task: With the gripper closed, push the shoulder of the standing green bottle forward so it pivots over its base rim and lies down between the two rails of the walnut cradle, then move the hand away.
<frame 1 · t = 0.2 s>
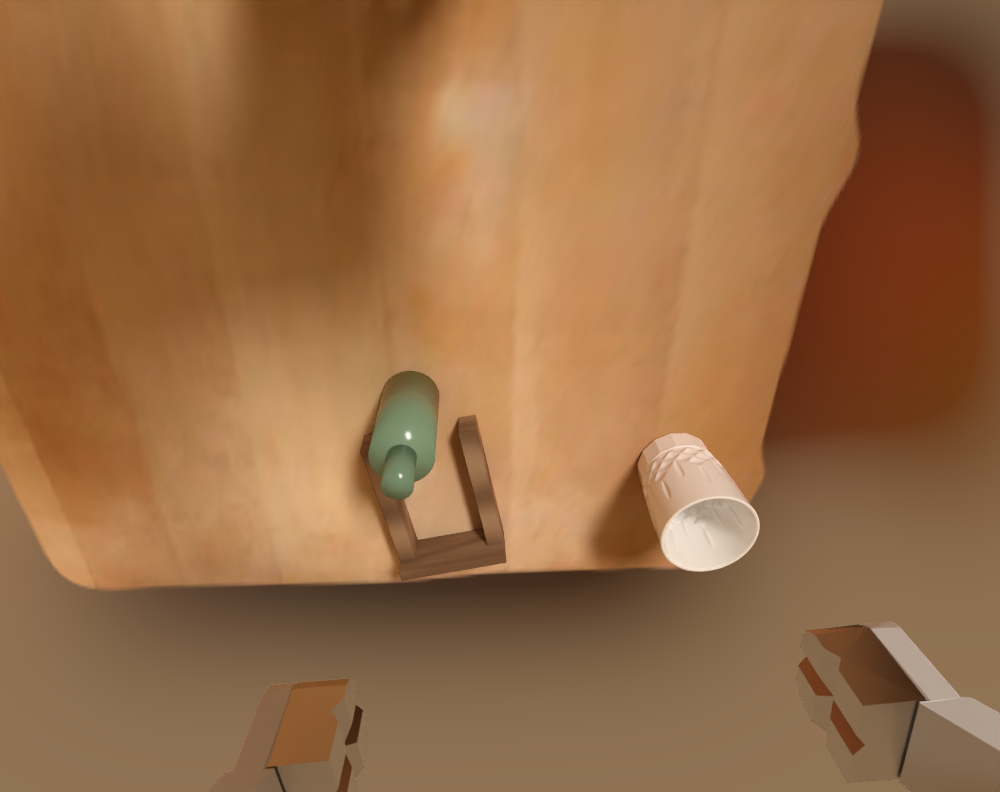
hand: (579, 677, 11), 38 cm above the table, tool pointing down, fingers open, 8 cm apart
white cup: (671, 460, 57), on the table
cradle: (436, 482, 56), on the table
bottle: (411, 396, 52), on the table
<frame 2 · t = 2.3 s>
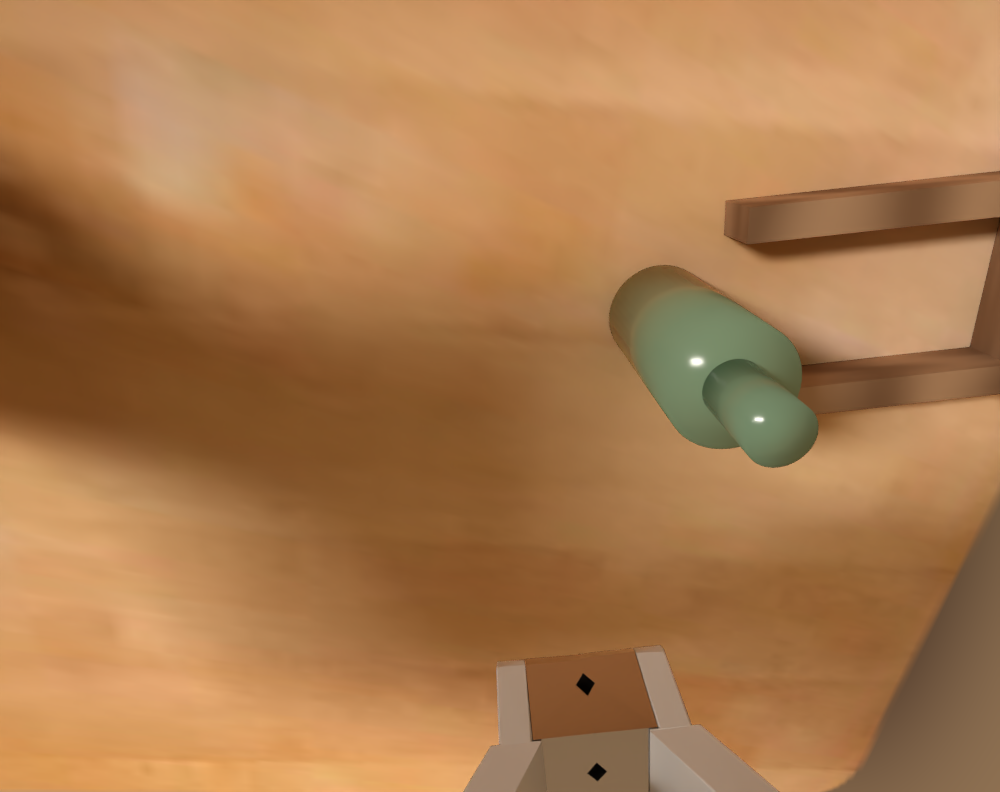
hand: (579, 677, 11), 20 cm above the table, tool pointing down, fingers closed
cradle: (853, 293, 29), on the table
bottle: (658, 314, 29), on the table
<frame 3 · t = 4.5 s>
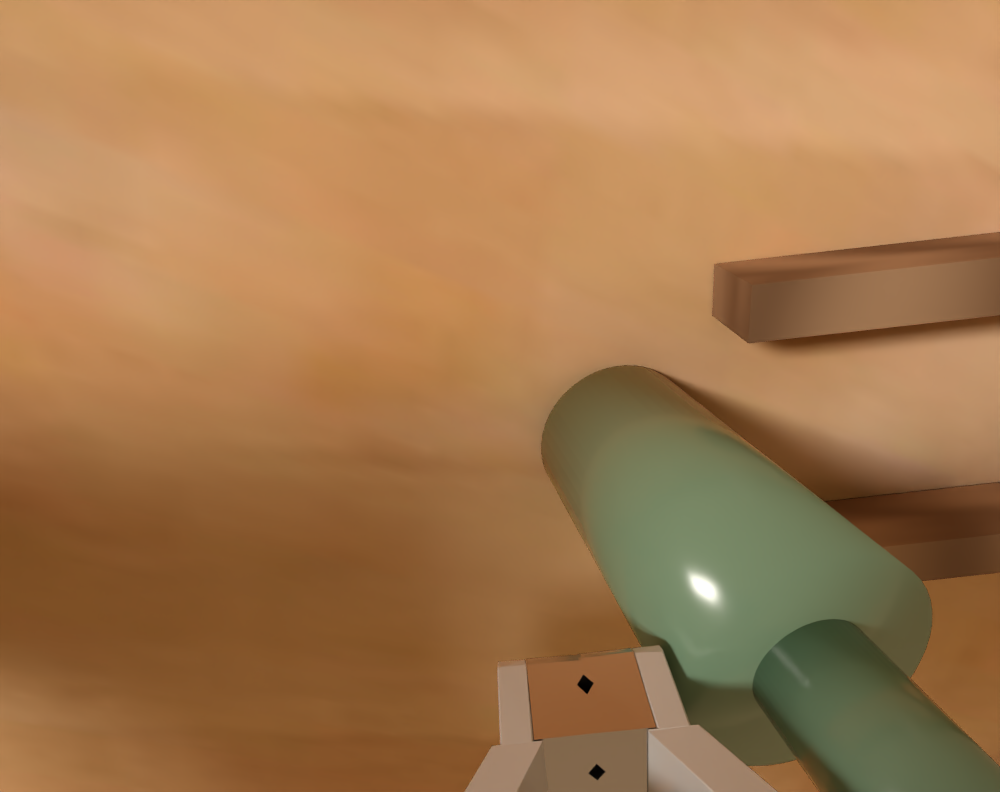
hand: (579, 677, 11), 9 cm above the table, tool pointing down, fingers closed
cradle: (913, 399, 19), on the table
bottle: (616, 438, 19), on the table, tilted 9°, touching gripper
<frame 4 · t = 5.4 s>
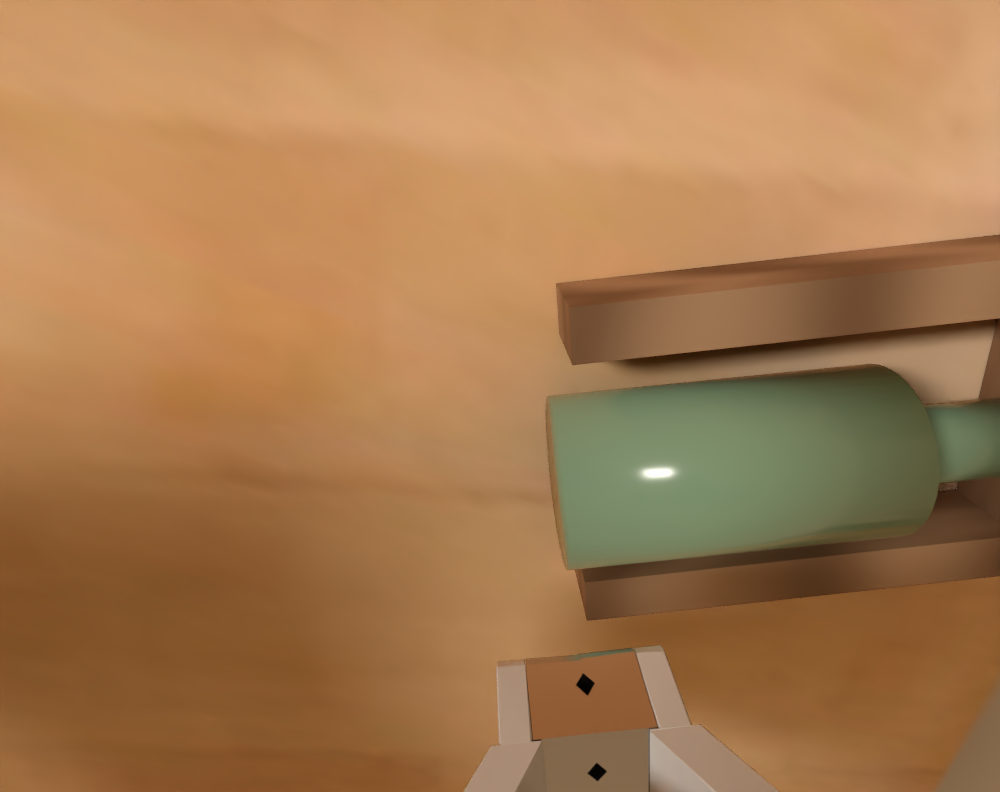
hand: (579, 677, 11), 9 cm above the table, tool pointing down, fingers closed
cradle: (772, 417, 19), on the table
bottle: (556, 481, 17), point 2 cm above the table, tilted 90°
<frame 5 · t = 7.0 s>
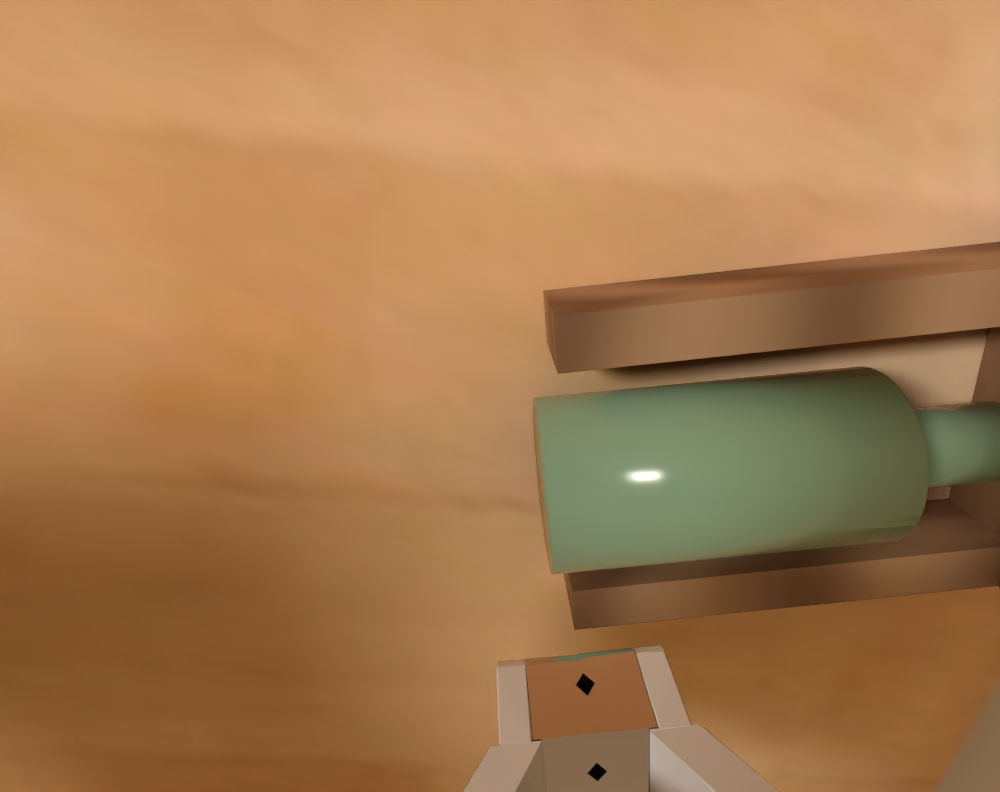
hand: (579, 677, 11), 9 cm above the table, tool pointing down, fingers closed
cradle: (762, 426, 19), on the table
bottle: (542, 484, 17), point 2 cm above the table, tilted 90°
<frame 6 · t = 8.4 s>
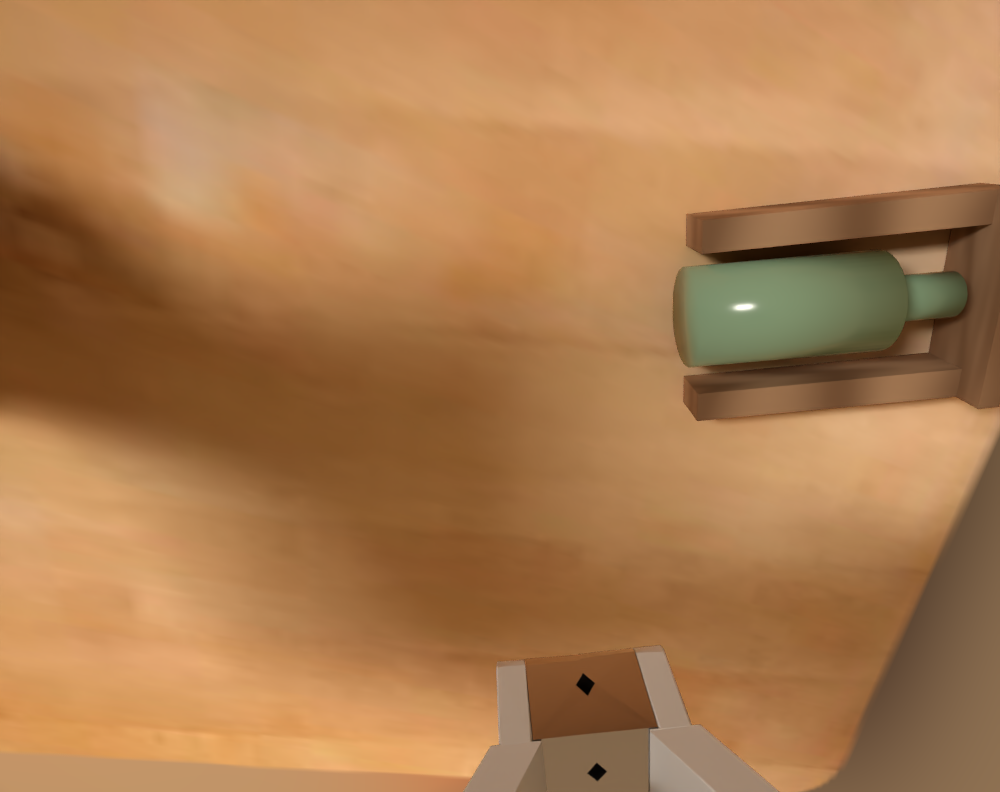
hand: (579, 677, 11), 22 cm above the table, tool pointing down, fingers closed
cradle: (811, 300, 31), on the table
bottle: (685, 317, 29), point 2 cm above the table, tilted 90°
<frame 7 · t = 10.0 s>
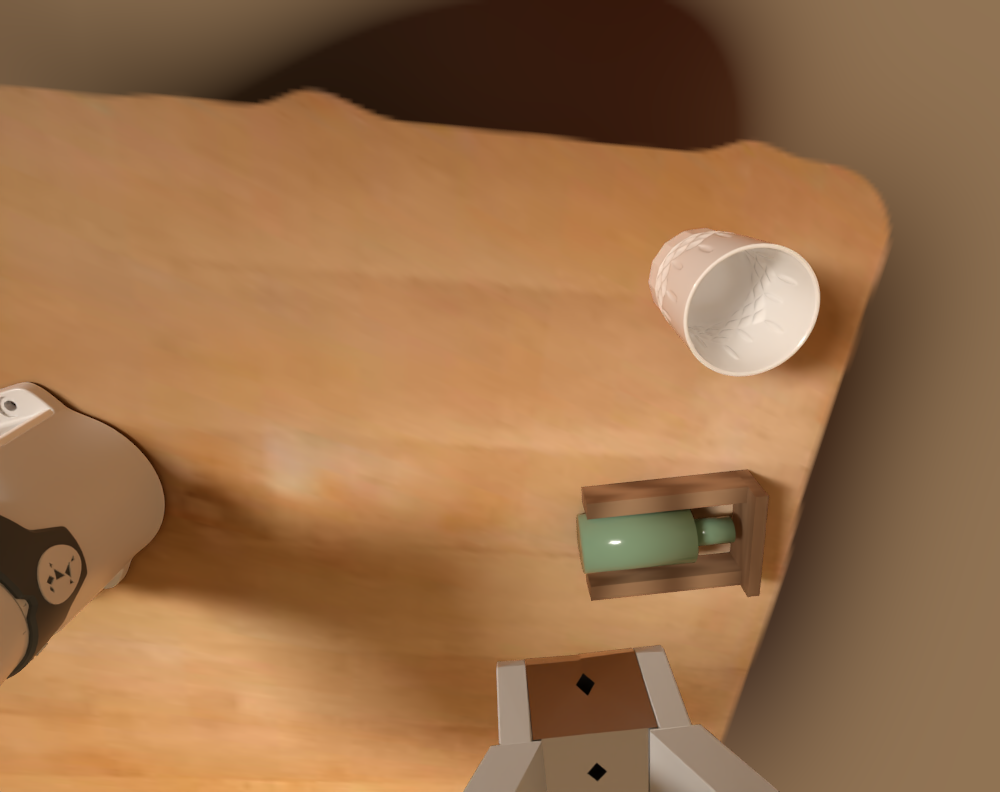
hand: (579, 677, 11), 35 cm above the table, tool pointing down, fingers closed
white cup: (693, 274, 44), on the table
cradle: (658, 528, 53), on the table
bottle: (580, 543, 50), point 2 cm above the table, tilted 90°
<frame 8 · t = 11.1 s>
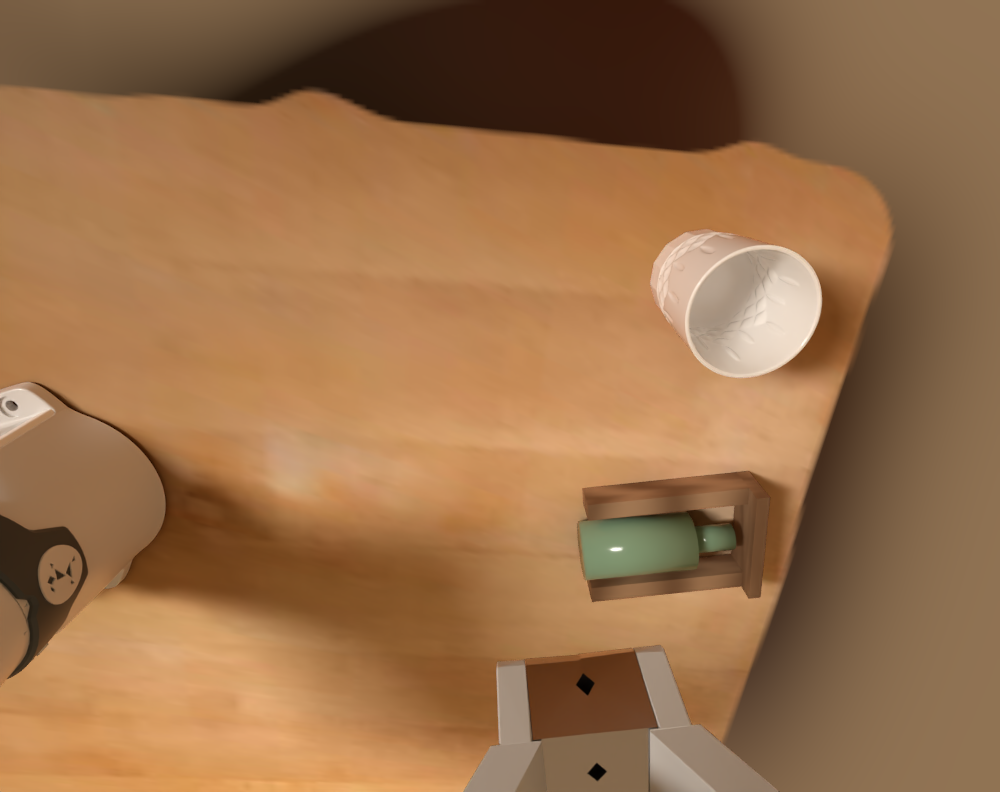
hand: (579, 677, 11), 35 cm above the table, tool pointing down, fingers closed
white cup: (694, 275, 44), on the table
cradle: (659, 529, 53), on the table
bottle: (581, 550, 51), point 2 cm above the table, tilted 90°
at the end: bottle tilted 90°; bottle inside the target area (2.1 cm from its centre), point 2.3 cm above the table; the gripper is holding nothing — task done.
